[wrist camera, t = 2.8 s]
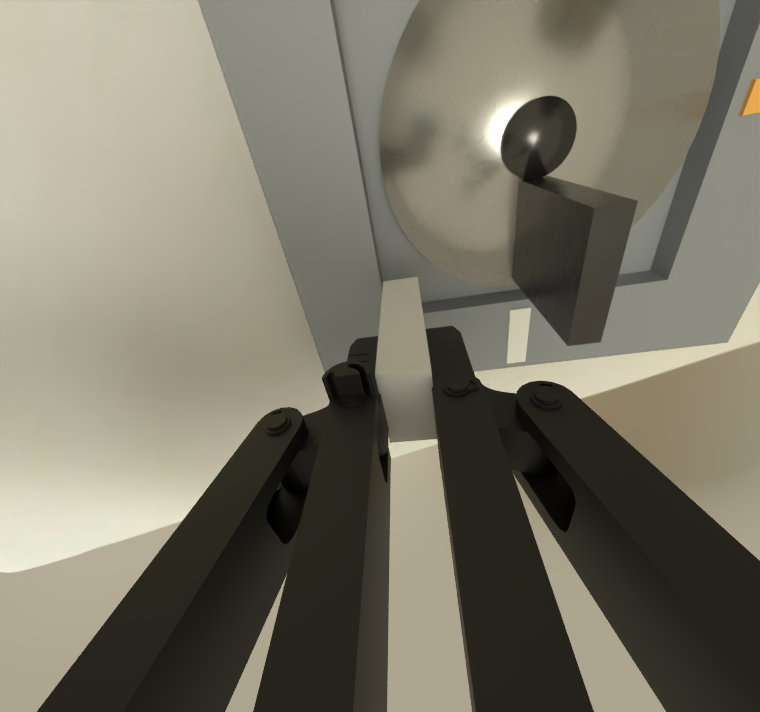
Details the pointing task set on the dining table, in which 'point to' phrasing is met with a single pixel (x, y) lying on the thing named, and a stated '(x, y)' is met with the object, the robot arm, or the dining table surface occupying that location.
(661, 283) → the panel
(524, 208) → the dial
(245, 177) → the dining table surface
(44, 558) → the dining table surface
